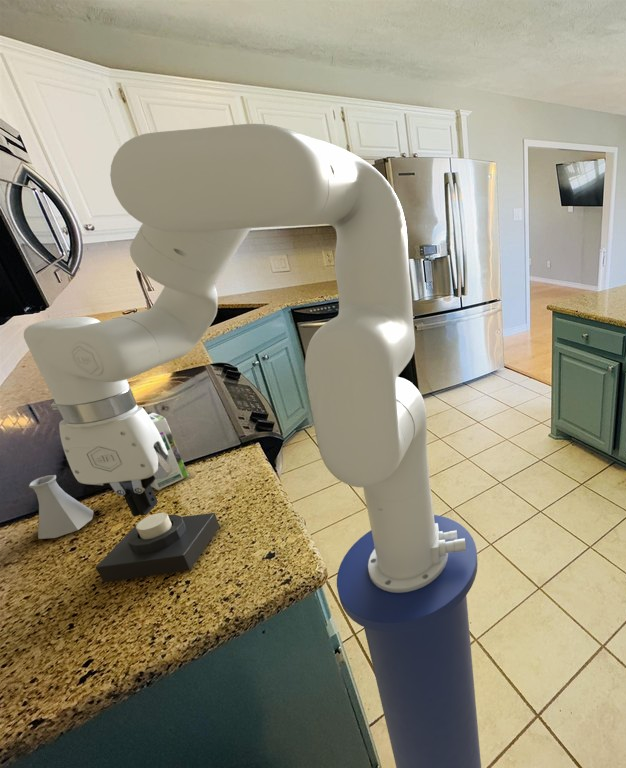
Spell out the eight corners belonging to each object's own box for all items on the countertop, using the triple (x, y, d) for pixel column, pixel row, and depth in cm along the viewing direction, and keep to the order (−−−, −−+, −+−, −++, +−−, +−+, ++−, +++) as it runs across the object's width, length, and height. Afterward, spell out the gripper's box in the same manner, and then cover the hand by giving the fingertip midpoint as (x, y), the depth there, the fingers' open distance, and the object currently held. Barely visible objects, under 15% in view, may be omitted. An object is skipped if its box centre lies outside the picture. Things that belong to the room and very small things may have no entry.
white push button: (177, 520, 68) (173, 511, 67) (163, 538, 65) (158, 527, 64) (150, 524, 68) (146, 514, 67) (134, 541, 64) (129, 531, 63)
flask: (28, 545, 70) (-1, 497, 66) (53, 518, 76) (28, 473, 72) (82, 533, 72) (57, 486, 69) (102, 508, 79) (80, 464, 75)
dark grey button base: (220, 526, 73) (211, 504, 71) (190, 570, 64) (179, 546, 62) (145, 536, 71) (134, 513, 69) (103, 583, 62) (89, 558, 60)
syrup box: (157, 491, 83) (130, 429, 78) (145, 483, 86) (118, 422, 80) (189, 477, 88) (166, 417, 82) (176, 469, 90) (152, 411, 85)
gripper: (12, 423, 53) (72, 533, 60) (142, 412, 55) (185, 519, 62) (60, 399, 60) (109, 501, 67) (173, 391, 62) (209, 489, 69)
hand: (146, 509), depth 64 cm, fingers closed
